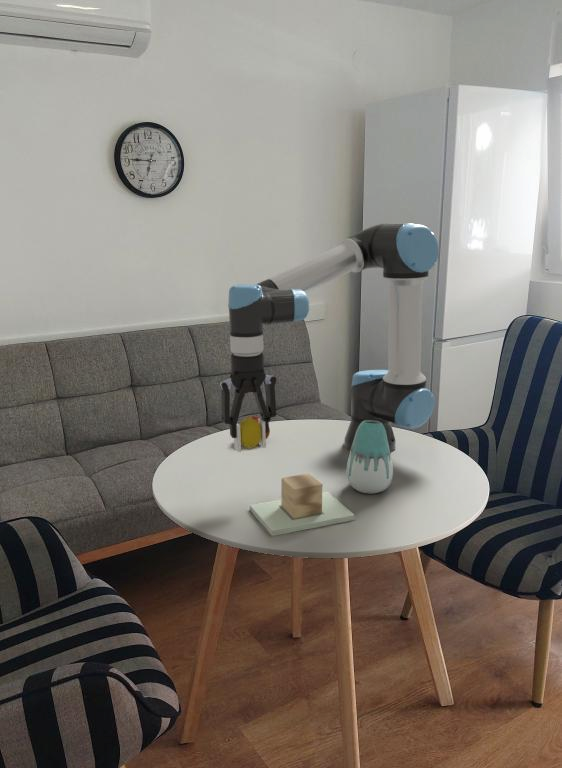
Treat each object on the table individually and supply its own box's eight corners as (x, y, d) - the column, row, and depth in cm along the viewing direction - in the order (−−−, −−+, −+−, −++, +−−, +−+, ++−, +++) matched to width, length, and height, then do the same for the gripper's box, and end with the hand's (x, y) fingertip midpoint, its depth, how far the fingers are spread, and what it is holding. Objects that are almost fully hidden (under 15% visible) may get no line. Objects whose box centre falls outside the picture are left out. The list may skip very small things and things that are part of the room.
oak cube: (308, 501, 152) (309, 473, 151) (321, 513, 146) (322, 484, 144) (281, 506, 150) (281, 477, 148) (293, 518, 143) (293, 489, 142)
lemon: (238, 445, 156) (237, 414, 154) (261, 444, 157) (260, 413, 155) (239, 454, 151) (237, 421, 149) (262, 452, 151) (261, 420, 149)
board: (326, 496, 158) (326, 491, 158) (354, 519, 146) (354, 514, 145) (249, 509, 151) (249, 504, 150) (272, 536, 138) (272, 530, 138)
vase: (365, 476, 170) (367, 411, 166) (401, 488, 162) (404, 420, 158) (336, 488, 163) (338, 420, 158) (373, 502, 155) (376, 431, 150)
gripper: (278, 346, 154) (279, 437, 160) (203, 353, 148) (208, 448, 154) (290, 351, 148) (292, 447, 154) (213, 360, 141) (217, 459, 147)
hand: (250, 447), depth 154 cm, fingers closed on lemon, 5 cm apart
